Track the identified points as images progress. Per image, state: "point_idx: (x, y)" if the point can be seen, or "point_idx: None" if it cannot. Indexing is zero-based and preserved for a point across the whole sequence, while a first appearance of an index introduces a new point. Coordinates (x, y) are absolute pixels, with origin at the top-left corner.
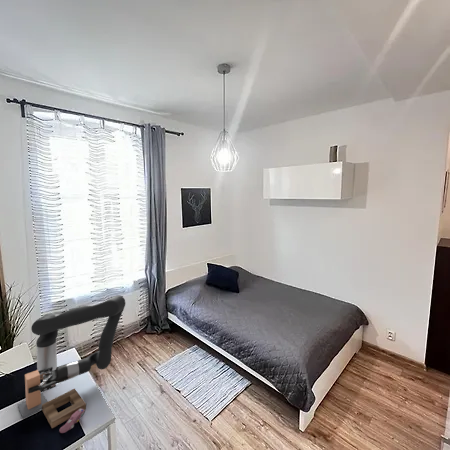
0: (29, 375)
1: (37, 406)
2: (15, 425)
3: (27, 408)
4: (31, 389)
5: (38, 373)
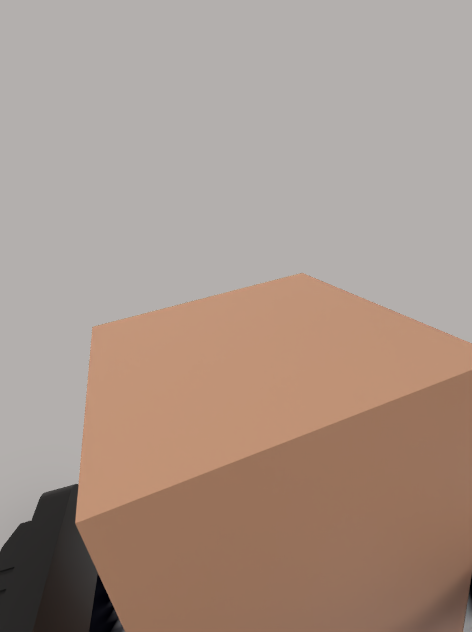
0: (244, 313)
1: None
2: (93, 616)
3: None
4: (18, 546)
5: (234, 436)
